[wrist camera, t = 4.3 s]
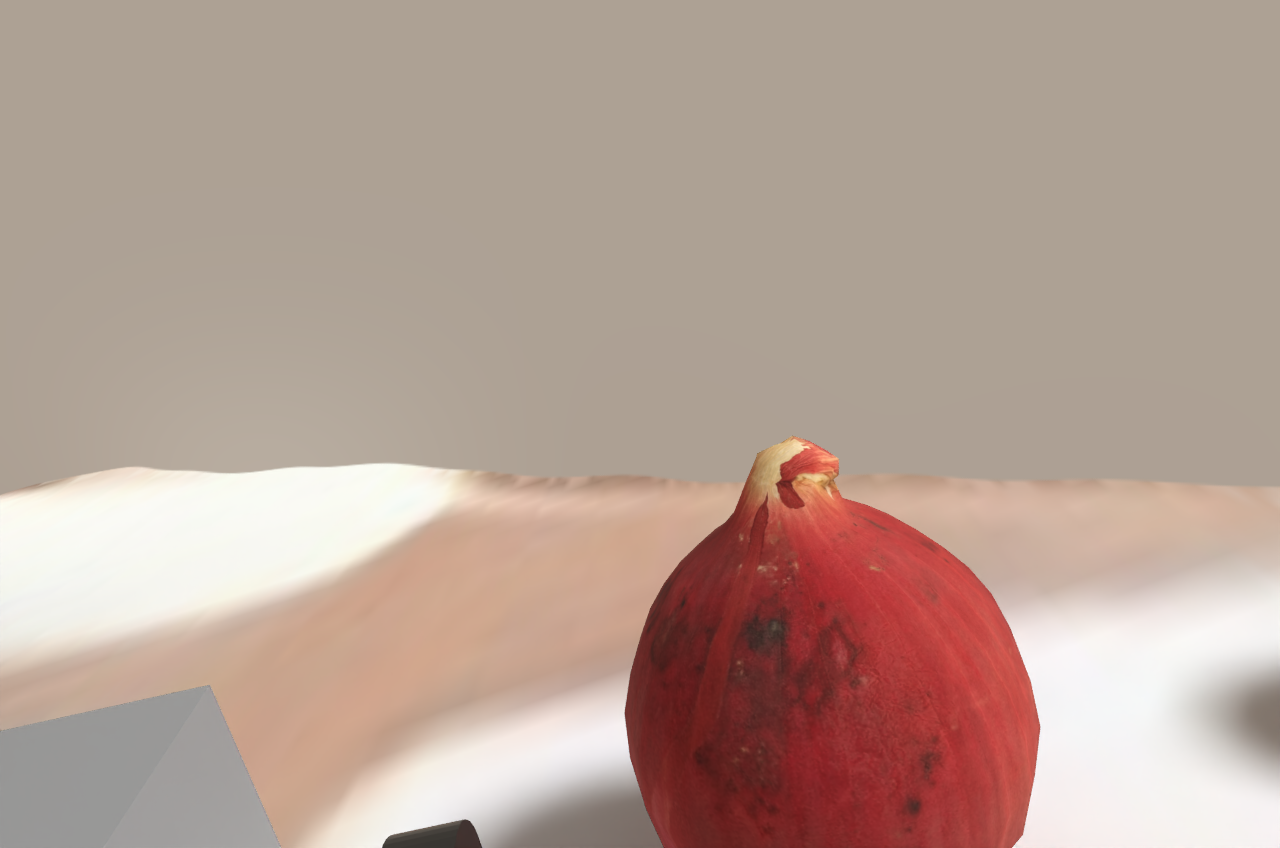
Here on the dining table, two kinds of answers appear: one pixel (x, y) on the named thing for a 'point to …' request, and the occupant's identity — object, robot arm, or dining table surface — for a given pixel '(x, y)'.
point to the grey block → (131, 780)
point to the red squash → (828, 682)
